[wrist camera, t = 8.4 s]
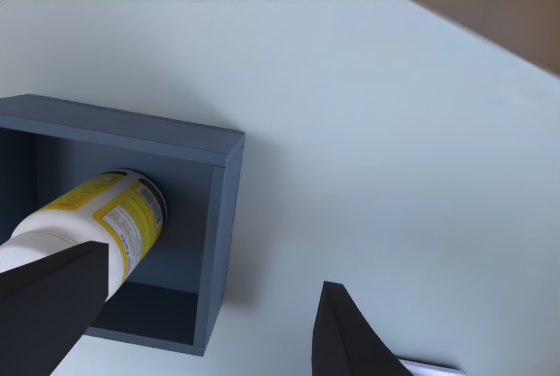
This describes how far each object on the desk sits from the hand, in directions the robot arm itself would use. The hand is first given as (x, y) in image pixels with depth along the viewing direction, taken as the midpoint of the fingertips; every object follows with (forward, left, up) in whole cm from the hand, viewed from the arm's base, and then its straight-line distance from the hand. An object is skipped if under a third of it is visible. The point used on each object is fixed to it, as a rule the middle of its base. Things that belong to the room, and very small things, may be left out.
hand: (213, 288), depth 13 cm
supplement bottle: (-2, +7, -9) cm, 12 cm away
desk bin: (-2, +7, -9) cm, 12 cm away
